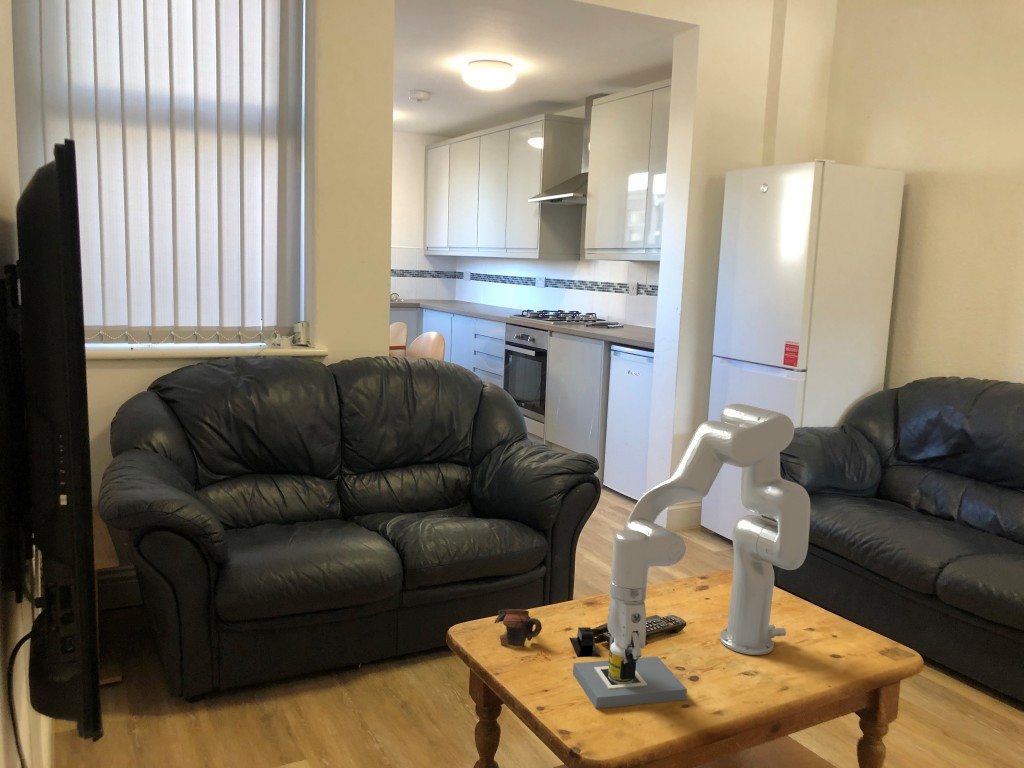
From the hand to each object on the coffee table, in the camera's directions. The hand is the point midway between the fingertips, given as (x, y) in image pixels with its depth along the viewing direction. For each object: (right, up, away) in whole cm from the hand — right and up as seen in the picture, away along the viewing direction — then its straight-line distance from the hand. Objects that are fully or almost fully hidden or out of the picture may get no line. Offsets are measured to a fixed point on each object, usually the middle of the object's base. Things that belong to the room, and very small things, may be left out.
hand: (621, 670), depth 169 cm
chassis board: (+2, -4, +1) cm, 4 cm away
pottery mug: (-22, 0, +20) cm, 29 cm away
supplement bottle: (0, -2, 0) cm, 2 cm away
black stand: (-6, -2, +18) cm, 19 cm away
